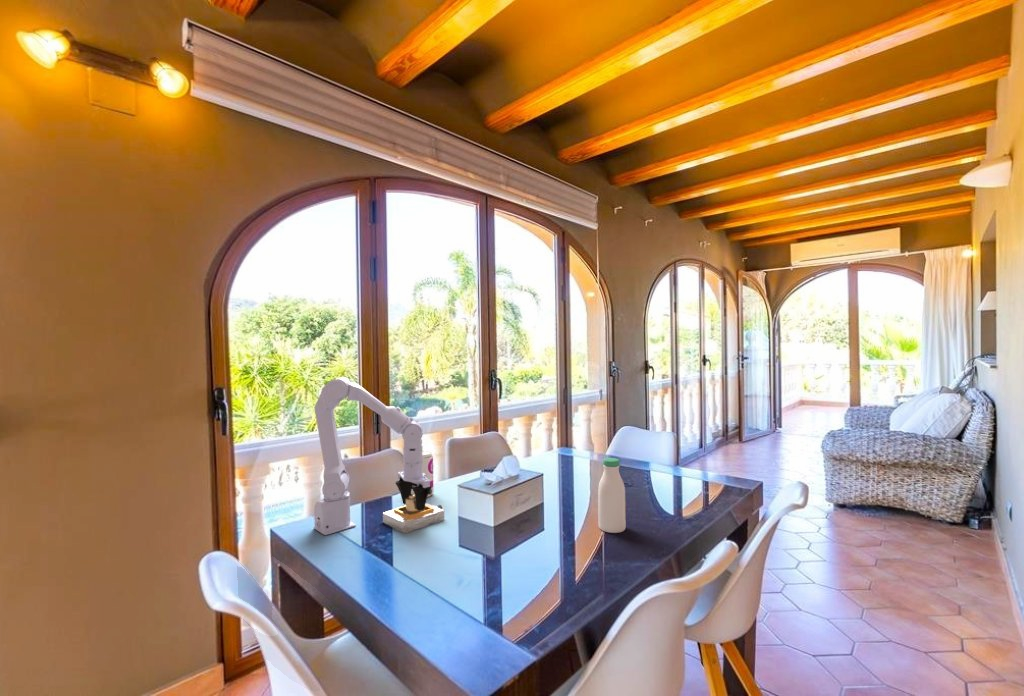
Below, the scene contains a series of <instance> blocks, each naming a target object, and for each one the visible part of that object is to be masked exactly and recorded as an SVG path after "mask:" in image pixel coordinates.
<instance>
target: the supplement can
mask: <svg viewBox="0 0 1024 696" xmlns="http://www.w3.org/2000/svg"><path fill="white" fill-rule="evenodd" d="M423 473H424V474H426V476H425V477H426V478H427V479H428V480H430V485H431V486H432V488H431V490H430V492H429V494H428V496H427V498H430V497H431V496H432V495H433V494H434V491H435V490H434V456H433V454H432V452H431V451H428V450H423ZM417 486H418V484H415V483H413V485H412V488H413V487H417ZM411 494H414V491H413V489H412V490H411Z"/></svg>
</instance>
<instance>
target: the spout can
mask: <svg viewBox="0 0 1024 696" xmlns="http://www.w3.org/2000/svg"><path fill="white" fill-rule="evenodd" d="M405 506H406V513H407V514H409V515H412V514H415V513H418V512H421V510H417V506H416V498H415V494H411V495H409V497H408V498H406V504H405Z"/></svg>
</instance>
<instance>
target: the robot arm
mask: <svg viewBox="0 0 1024 696" xmlns="http://www.w3.org/2000/svg"><path fill="white" fill-rule="evenodd" d="M344 399H346V400H347V401H356V402H359V403H361V404H363V405H364V406H365V407H367V408H369V409H370V410H372V411H373V412H374V413H376V414H377V415H379V416H380V419H381V422H382V423H383V424H385V425H386V426H387V427H388V428H390V429H392V430H393V431H394V432H395V433H397V434H399V435H400V434H401V437H402V439H403V447H402V448H403V449H402V453H403V454H402V455H403V456H402V458H403V470H402V471H398V472H397V479H399V480H396V481H395V485H396V486H397V489H398V491H399V493H400V497H401V501H402V504H403V505H406V498H408V497H409V495H411V490H412V489H413V491H414V494H415V498H416V506H417V510H422V509H424V507H425V503H427V499H428V497H427V496H428V494H429V492H430V490H431V488H432V486H431V485H430V480H428V479H427V478H426V477H425V476H426V474H424V473H423V451H424V450H423V440H422V438H423V427H422V425H421V423H420V422H419V421H418V420H414V419H415V418H413V417H412V416H411V417H410V416H408V415H407V414H405V413H404V412H402V409H401V408H400V407H399V406H397V407H396V406H394V405H393V406H387V405H385V403H383V402H382V401H380V400H379V399H378V398H376V397H375V396H374V395H373V394H371V393H370V392H369V391H367V390H366V389H365V388H364V387H362V386H361V385H360V384H358V383H356V382H354V381H352V380H351V379H350V378H347V377H345V376H339V377H337V378H333V379H331V380H329V381H328V382H327V383H326V384H325V385H324V386H323V387H322V388H321V390H320V394H319V396H318V398H317V401H316V403H315V405H314V415H315V419H316V424H317V430H318V436H319V438H318V439H319V443H320V449H321V453H322V454H321V456H322V459H323V460H322V461H323V466H324V469H323V470H324V471H323V485H322V489H321V491H322V495H323V498H322V499H320V500H319V501H316V502H315V504H314V509H313V510H314V513H313V515H314V526H313V529H315V530H316V531H318V532H319V533H320V534H322V535H324V536H327V535H330V534H334V533H337V532H341V531H344V530H348V529H351V528H354V527H356V526H357V525H356V523H354V522H353V521H351V503H350V502H351V493H350V492H349V491H348V487H349V486H350V483H351V477H350V476H351V475H350V474H349V473H348V472H347V470H346V466H345V464H344V463H343V459H342V453H341V448H340V446H341V445H340V441H339V437H338V436H339V435H338V430H337V425H336V423H337V422H336V418H335V412H334V410H335V409H336V408H337V407H338V405H339V404H340V403H341V402H342V401H343V400H344ZM413 483H415V484H418V486H417V487H413V488H412V485H413Z"/></svg>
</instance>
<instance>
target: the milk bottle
mask: <svg viewBox="0 0 1024 696" xmlns="http://www.w3.org/2000/svg"><path fill="white" fill-rule="evenodd" d="M602 463H603V464H602V465H603V472H602V475H601V478H600V480H599V482H598V488H597V489H598V491H597V495H598V496H597V498H598V499H597V500H598V501H597V505H598V507H597V513H598V514H597V515H598V516H597V518H598V520H597V521H598V528H599V530H601V531H603V532H606V533H609V534H617V533H622V532H624V531H625V530H626V529H627V528H626V527H627V525H626V524H627V523H626V519H627V517H626V514H627V513H626V511H627V510H626V509H627V508H626V507H627V506H626V505H627V504H626V487H625V483H624V481H623V479H622V476H621V474H620V470H619V469H620V464H621V463H620V459H619V458H616V457H606V458H603V461H602Z"/></svg>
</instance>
